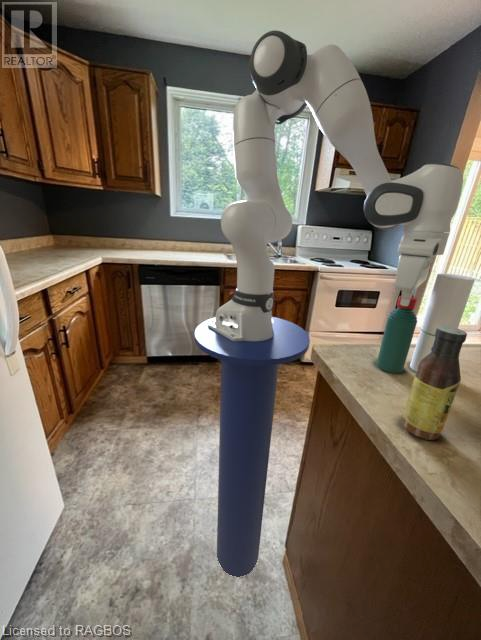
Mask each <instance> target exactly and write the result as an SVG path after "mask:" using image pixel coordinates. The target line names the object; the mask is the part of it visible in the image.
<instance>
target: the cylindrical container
mask: <svg viewBox="0 0 481 640" xmlns="http://www.w3.org/2000/svg"><path fill="white" fill-rule="evenodd" d="M475 280H476V278H474V277H471V276H466V275H461V274H452V273H437V274H436V278H435V280H434V284H433V288H432V292H431V294H430V298H429V301H428V304H427V307H426V311H425V314H424V317H423V321H422V324H421V327H420V331H419V334H418V338H417V341H416V344H415V348H414V351H413V354H412V357H411V360H410V364H409V367H410V369H411V370H412V371H414V372H415V373H417V369H418V365H419V363H420V361H421V360H422V359H423V358H424V357H425V356H427V355H428V354H430V353H431V352H432V351H431V348H432V347H433V344H434V341H435V333H436V330H437V327H440V326H446V327H452V328H456V329H459V326H460V324H461V320H462V317H463V315H464V313H465V309H466V307H467V303H468V300H469V299H470V295H471V292H472V290H473V286H474V284H475Z"/></svg>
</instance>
